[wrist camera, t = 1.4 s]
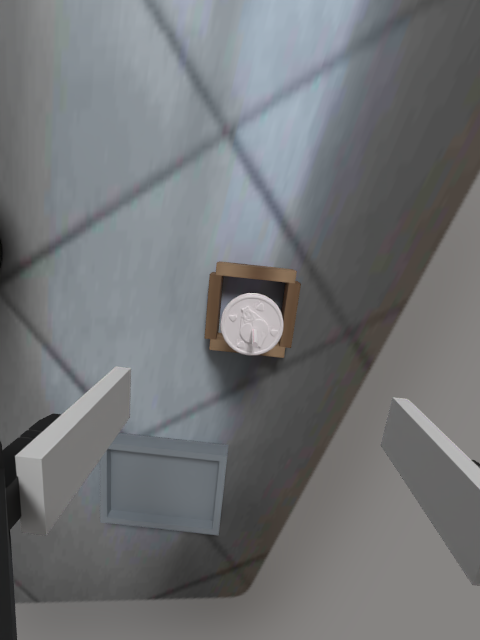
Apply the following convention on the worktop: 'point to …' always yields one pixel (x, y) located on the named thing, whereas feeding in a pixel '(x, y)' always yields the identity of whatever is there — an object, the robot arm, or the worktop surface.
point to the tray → (163, 483)
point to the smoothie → (252, 324)
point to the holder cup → (253, 273)
